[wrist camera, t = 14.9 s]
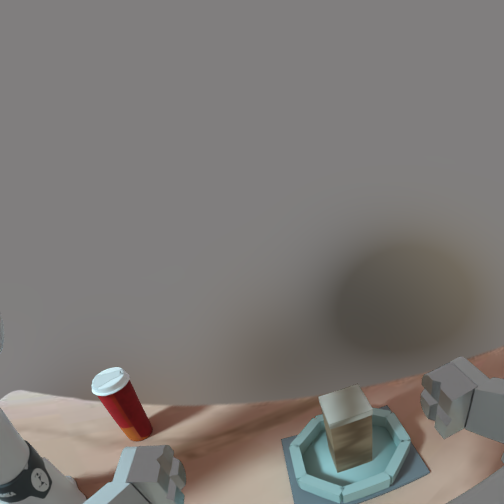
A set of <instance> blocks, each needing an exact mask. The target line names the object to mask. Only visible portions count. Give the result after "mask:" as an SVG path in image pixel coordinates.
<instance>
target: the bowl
mask: <svg viewBox="0 0 504 504" xmlns="http://www.w3.org/2000/svg"><path fill="white" fill-rule="evenodd" d="M315 417H316V419H315V418H312V419H311V421H310V422H309V423H308V424H307V425H306V426H305V428H304V429H303V430H302V431H301V432H300V434H299V435H298V436H297V437H296V438H295V439H294V440H293V442H292V443H291V444H290V447H289V449H290V454H291V458H292V463H293V467H294V472H295V476H296V480H297V483H298V486H300V488H301V489H303V490H305V491H308V492H310V493H313V494H315V495H317V496H319V497H321V498H324V499H328V500H331V501H334V502H337V503H341V501H343V502H344V503H347V502H350V501H353V500H358V499H362V498H365V497H368V496H370V495H372V494H374V493H376V492H378V491H380V490H383V489H385V488H388V487H389V486H390V484H393V482H394V480H395V478H396V476H397V475H398V473H399V471H400V469H401V467H402V465H403V463H404V461H405V459H406V457H407V455H408V452H409V449H410V442H411V441H410V439H411V438H410V437H409V435H408V434H407V432H406V431H405V429H404V428H403V426H402V424H401V423H400V421H399V420H398V418H397V417H396V415H395V414H394V412H393V413H391V411H389V410H383V409H378V408H373V415H372V461H371V462H368V463H365V464H362V465H360V466H357V467H354V468H351V469H348V470H345V471H342V472H339V473H337V470H336V468H335V465H334V462H333V459H332V456H331V454H330V451H329V448H328V442H327V436H326V430H325V425H324V419H323V414H321V415H318V416H315Z"/></svg>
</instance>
